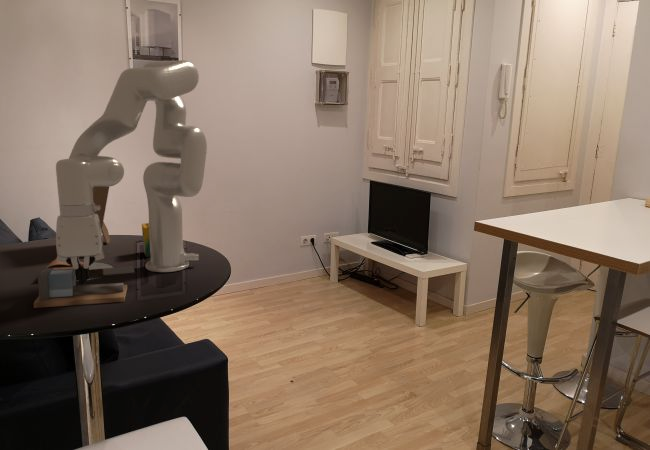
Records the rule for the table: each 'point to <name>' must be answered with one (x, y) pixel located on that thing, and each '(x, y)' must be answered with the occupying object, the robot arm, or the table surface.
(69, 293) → the grey slider block
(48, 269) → the dark grey slab
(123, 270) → the smartphone
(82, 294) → the rail board
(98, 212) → the photo frame
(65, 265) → the sunglasses case
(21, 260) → the table surface
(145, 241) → the crayon box
